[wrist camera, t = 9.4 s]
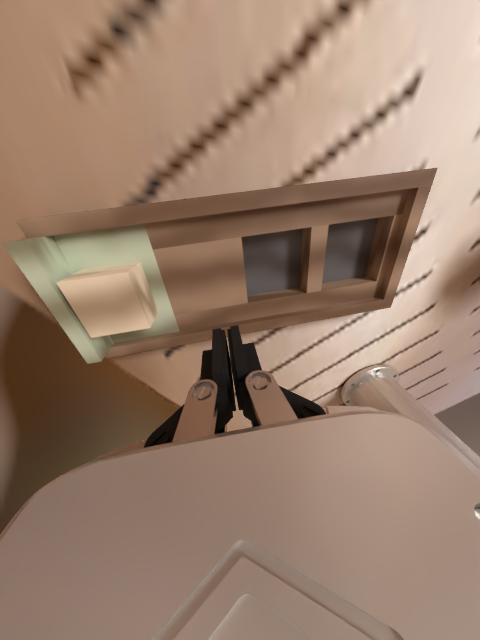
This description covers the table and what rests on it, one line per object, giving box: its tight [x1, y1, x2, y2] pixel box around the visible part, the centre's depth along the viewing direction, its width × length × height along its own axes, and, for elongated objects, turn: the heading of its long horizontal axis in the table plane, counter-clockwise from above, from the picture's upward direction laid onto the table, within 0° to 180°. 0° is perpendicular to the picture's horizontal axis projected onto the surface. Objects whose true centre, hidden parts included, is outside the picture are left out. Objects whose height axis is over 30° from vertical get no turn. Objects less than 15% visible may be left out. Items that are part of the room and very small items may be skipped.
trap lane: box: [2, 168, 437, 364], centre depth 22 cm, size 16×40×6 cm, turn 96°
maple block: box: [56, 262, 158, 338], centre depth 20 cm, size 6×6×4 cm
